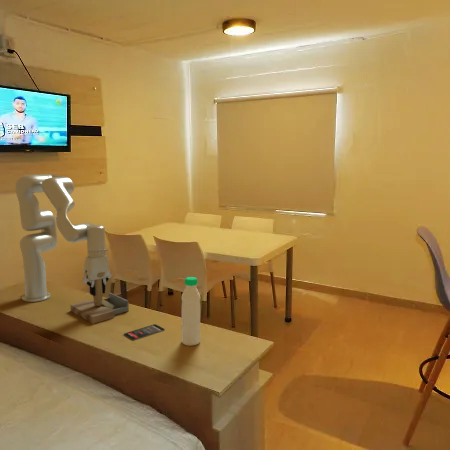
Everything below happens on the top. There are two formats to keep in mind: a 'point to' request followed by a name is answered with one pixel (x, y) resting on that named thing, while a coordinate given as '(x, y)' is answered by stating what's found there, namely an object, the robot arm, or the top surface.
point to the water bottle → (190, 313)
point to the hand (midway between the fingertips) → (97, 293)
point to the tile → (107, 304)
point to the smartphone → (143, 332)
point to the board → (92, 311)
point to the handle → (98, 290)
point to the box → (118, 304)
